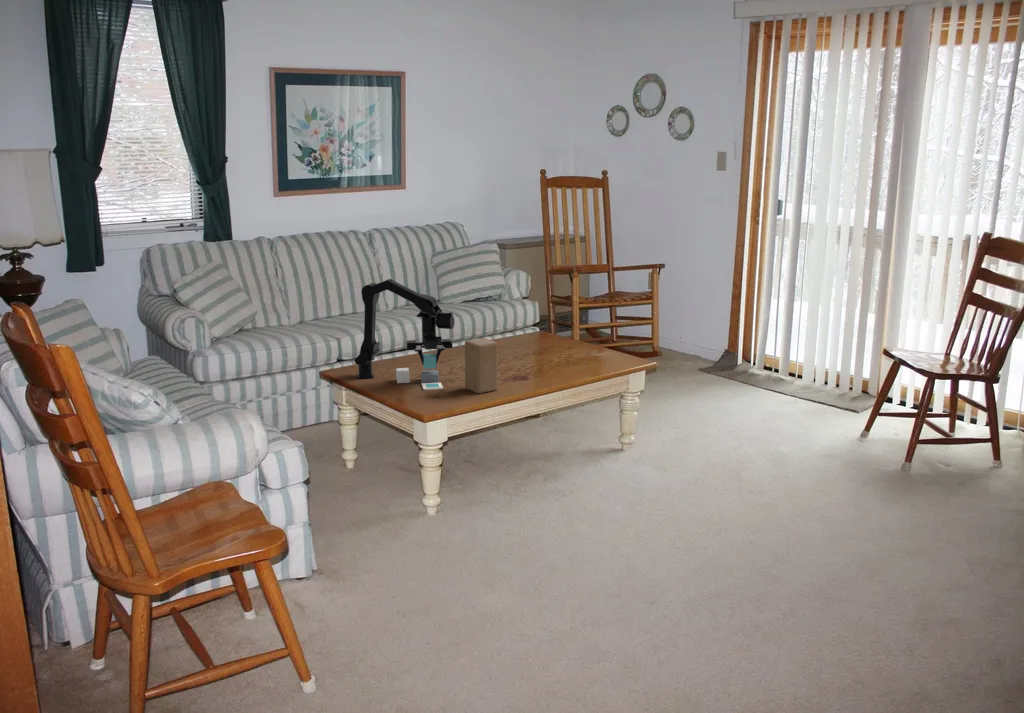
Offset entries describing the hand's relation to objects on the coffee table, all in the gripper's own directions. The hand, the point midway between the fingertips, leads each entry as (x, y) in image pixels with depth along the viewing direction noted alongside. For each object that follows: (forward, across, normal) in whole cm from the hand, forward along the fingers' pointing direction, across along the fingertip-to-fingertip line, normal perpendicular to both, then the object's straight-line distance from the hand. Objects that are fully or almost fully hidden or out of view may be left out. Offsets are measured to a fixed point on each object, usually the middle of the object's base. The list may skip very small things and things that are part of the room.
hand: (429, 364), depth 372 cm
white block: (+7, -11, +2) cm, 13 cm away
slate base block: (+7, 0, 0) cm, 7 cm away
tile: (+7, 0, -9) cm, 11 cm away
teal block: (+1, 0, 0) cm, 1 cm away
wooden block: (+7, +19, -16) cm, 26 cm away
